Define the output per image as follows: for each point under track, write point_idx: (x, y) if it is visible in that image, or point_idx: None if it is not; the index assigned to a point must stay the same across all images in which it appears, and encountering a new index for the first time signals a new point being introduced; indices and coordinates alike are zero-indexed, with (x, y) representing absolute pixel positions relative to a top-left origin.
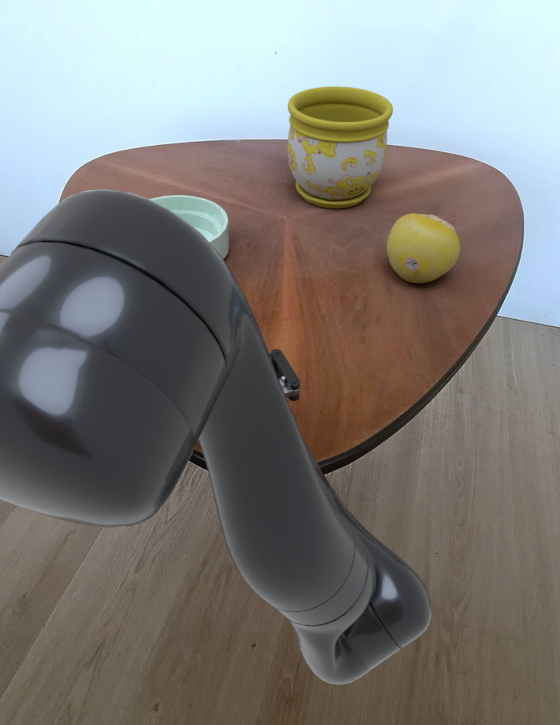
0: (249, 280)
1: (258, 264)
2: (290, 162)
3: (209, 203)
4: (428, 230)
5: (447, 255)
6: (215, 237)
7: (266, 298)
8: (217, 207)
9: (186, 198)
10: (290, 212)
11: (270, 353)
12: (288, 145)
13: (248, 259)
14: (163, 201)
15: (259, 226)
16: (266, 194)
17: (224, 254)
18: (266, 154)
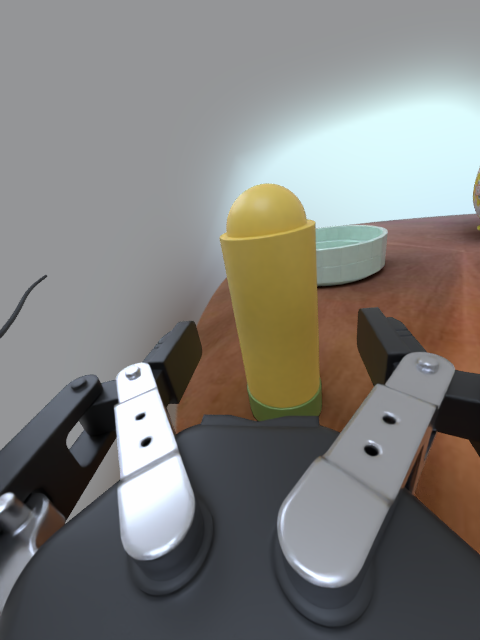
0: (404, 294)
1: (420, 282)
2: (478, 194)
3: (369, 227)
4: None
5: None
6: (366, 241)
7: (430, 313)
8: (377, 227)
9: (346, 227)
10: (469, 247)
11: (478, 376)
12: (478, 177)
13: (406, 277)
14: (324, 231)
15: (425, 256)
16: (436, 239)
17: (375, 268)
18: (438, 221)
